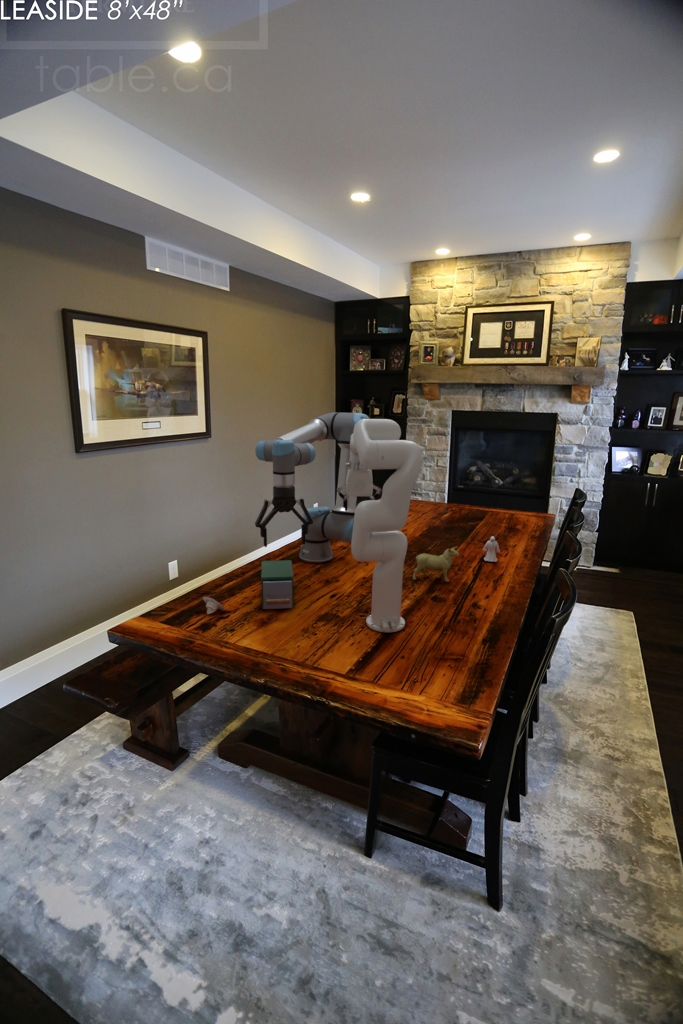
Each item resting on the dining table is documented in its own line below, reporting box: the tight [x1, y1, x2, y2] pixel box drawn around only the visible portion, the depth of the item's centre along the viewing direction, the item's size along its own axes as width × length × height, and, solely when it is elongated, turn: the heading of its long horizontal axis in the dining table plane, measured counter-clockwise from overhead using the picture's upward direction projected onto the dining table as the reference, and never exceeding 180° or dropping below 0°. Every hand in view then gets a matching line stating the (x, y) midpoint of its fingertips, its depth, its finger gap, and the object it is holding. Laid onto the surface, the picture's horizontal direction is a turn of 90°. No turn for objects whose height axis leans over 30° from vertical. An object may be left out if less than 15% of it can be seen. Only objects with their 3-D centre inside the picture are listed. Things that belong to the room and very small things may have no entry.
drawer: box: [262, 579, 293, 610], centre depth 173 cm, size 21×10×10 cm, turn 8°
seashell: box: [202, 596, 226, 615], centre depth 167 cm, size 8×5×8 cm
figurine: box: [482, 535, 501, 563], centre depth 223 cm, size 8×8×12 cm
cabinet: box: [260, 559, 295, 610], centre depth 179 cm, size 16×11×12 cm, turn 8°
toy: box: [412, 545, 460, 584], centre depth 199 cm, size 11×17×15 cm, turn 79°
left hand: (284, 544), depth 177 cm, fingers open, 13 cm apart
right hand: (358, 509), depth 193 cm, fingers open, 9 cm apart
